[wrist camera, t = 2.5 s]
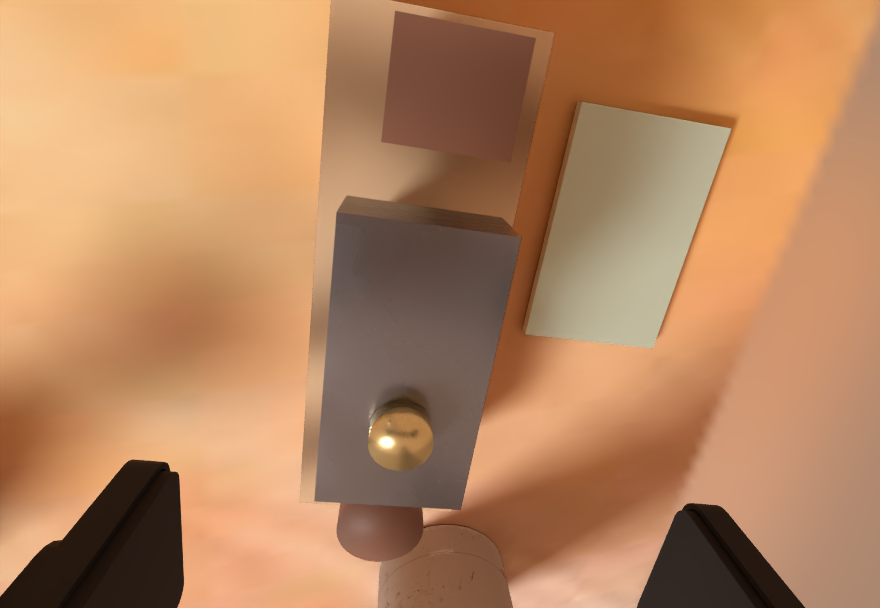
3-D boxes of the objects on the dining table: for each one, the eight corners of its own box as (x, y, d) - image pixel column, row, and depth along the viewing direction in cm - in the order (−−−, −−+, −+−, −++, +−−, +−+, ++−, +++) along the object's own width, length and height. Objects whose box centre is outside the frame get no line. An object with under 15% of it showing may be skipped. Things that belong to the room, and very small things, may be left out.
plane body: (348, 18, 19) (283, -99, 8) (518, 50, 20) (655, -17, 9) (316, 433, 26) (261, 652, 16) (442, 442, 27) (470, 655, 16)
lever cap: (346, 195, 14) (332, 218, 11) (502, 217, 14) (529, 245, 11) (325, 450, 17) (309, 522, 14) (452, 459, 17) (463, 530, 14)
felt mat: (577, 101, 21) (582, 101, 20) (723, 128, 22) (731, 128, 21) (522, 329, 25) (525, 334, 24) (647, 343, 26) (652, 348, 25)
